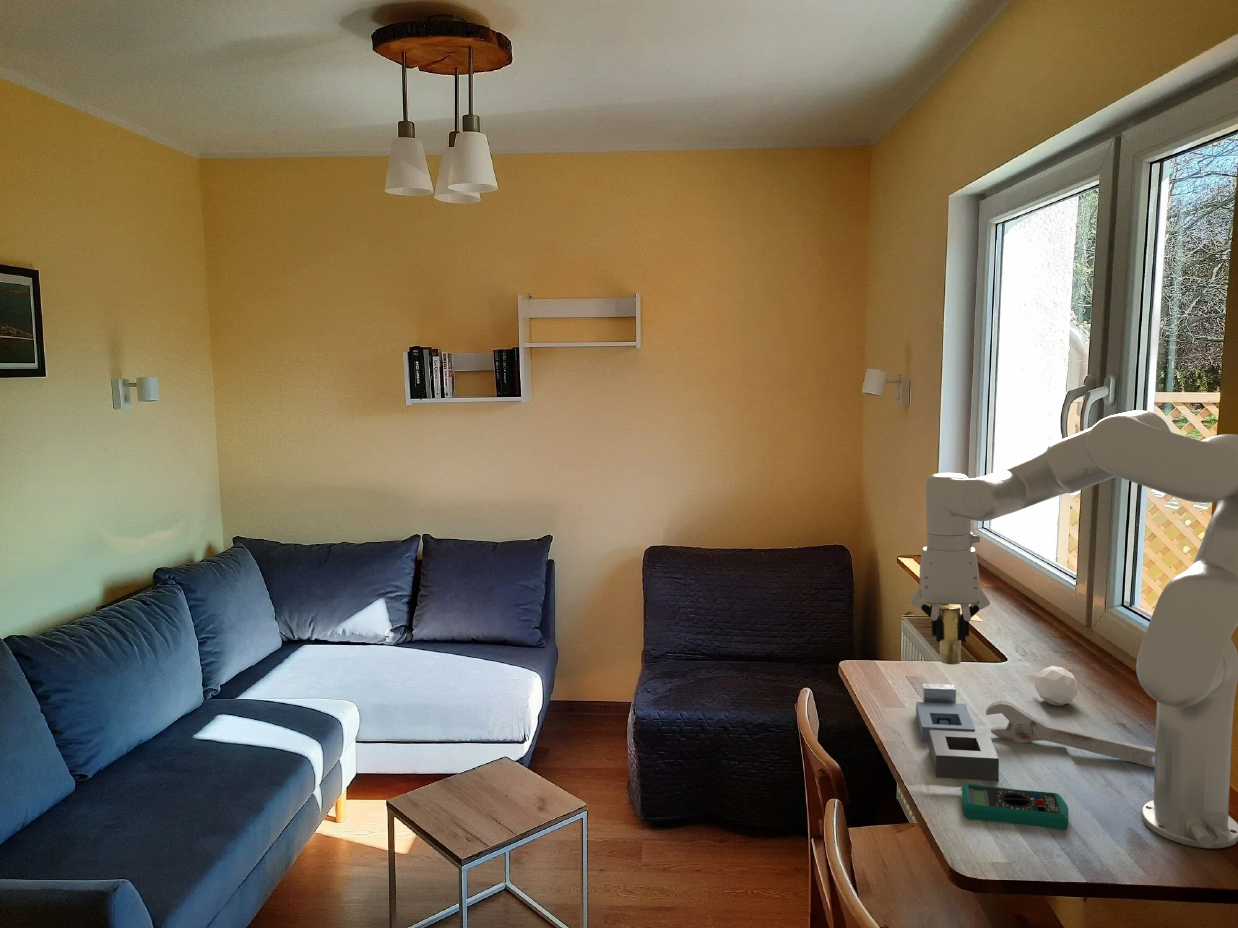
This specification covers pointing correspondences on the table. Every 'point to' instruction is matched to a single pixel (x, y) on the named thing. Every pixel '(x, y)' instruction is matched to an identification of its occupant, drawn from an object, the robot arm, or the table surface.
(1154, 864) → the table surface
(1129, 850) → the table surface
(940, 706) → the socket block
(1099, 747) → the wrench
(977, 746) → the grey slotted block
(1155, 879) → the table surface
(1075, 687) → the ball
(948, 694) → the plug block
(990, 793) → the digital multimeter
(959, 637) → the peg
